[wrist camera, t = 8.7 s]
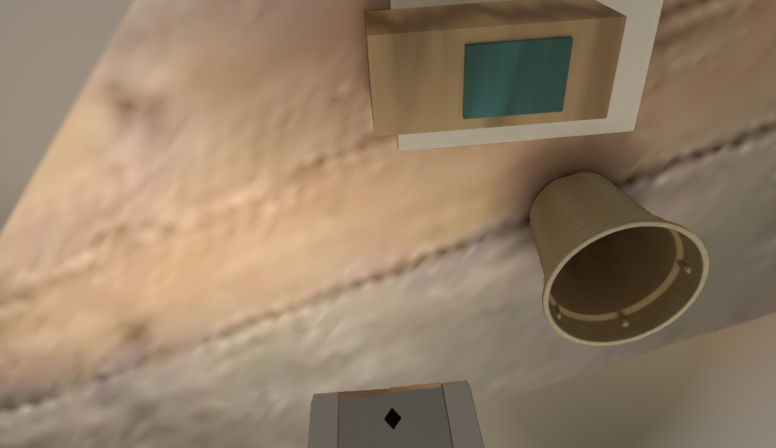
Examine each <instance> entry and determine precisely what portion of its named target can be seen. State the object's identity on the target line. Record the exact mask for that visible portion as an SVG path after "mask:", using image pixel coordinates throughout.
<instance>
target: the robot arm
mask: <svg viewBox="0 0 776 448" xmlns="http://www.w3.org/2000/svg"><path fill="white" fill-rule="evenodd" d="M308 448H484V444H483V440H482V436H481V431H480V427H479V423H478V419H477V414H476V410H475V406H474V401H473V397H472V393H471V388H470V385H469V383H468V382H467V381H466V380H464V381H455V382H445V383H440V382H437V383H428V384H418V385H409V386H399V387H390V388H389V389H374V390H359V391H344V392H330V393H319V394H314V395H313V398H312V401H311V411H310V424H309V437H308Z"/></svg>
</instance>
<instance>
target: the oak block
mask: <svg viewBox="0 0 776 448" xmlns="http://www.w3.org/2000/svg"><path fill="white" fill-rule="evenodd" d="M364 18H365V31H366V44H367V57H368V70H369V83H370V96H371V107H372V116H373V125H374V134H375V137H377V136H390V135H402V134H415V133H428V132H440V131H453V130H466V129H478V128H491V127H503V126H516V125H529V124H541V123H554V122H566V121H579V120H592V119H604V118H607V114H608V109H609V104H610V99H611V94H612V89H613V84H614V79H615V74H616V69H617V64H618V59H619V54H620V49H621V44H622V39H623V34H624V29H625V24H626V19H627V16H625V15H623V14H621V13H619V12H617V11H615V10H613V9H611V8H609V7H608V6H606V5H604V4H602V3H600V2H598V1H596V0H511V1H498V2H484V3H470V4H456V5H443V6H429V7H415V8H402V9H388V10H374V11H364Z"/></svg>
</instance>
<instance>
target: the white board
mask: <svg viewBox="0 0 776 448" xmlns="http://www.w3.org/2000/svg"><path fill="white" fill-rule="evenodd" d="M498 1H511V0H390V9H402V8H415V7H429V6H443V5H456V4H470V3H484V2H498ZM596 1H598V2H600V3H602V4H604V5H606V6H608V7H609V8H611V9H613V10H615V11H617V12H619V13H621V14H623V15H625V16H627V19H626V24H625V29H624V34H623V39H622V44H621V49H620V54H619V59H618V64H617V69H616V74H615V79H614V84H613V89H612V94H611V99H610V104H609V109H608V114H607V118H604V119H592V120H579V121H566V122H554V123H541V124H529V125H516V126H503V127H491V128H478V129H466V130H453V131H440V132H428V133H415V134H402V135H397V136H398V149H399V152H400V151H411V150H423V149H434V148H445V147H457V146H468V145H480V144H491V143H502V142H514V141H525V140H537V139H548V138H559V137H571V136H582V135H594V134H605V133H616V132H628V131H634V128H635V124H636V119H637V115H638V110H639V106H640V102H641V97H642V93H643V88H644V84H645V80H646V75H647V71H648V66H649V62H650V58H651V53H652V49H653V44H654V40H655V36H656V31H657V27H658V22H659V18H660V14H661V9H662V5H663V0H596Z"/></svg>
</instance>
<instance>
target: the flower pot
mask: <svg viewBox="0 0 776 448" xmlns="http://www.w3.org/2000/svg"><path fill="white" fill-rule="evenodd" d="M530 227H531V230H532V232H533V236H534V239H535V243H536V247H537V250H538V254H539V258H540V262H541V265H542V269H543V273H544V288H543V293H542V306H543V311H544V314H545V317H546V319H547V321H548V323H549V324H550V326H551V327H552V328H553V329H554V330H555V331H556V332H557V333H558V334H560V335H561V336H563V337H564V338H566V339H568V340H570V341H573V342H576V343H581V344H585V345H593V346H602V345H617V344H624V343H628V342H631V341H635V340H638V339H641V338H644V337H646V336H648V335H650V334H652V333H655V332H657V331H659V330H660V329H662V328H663V327H665V326H667V325H668V324H670V323H671V322H673V321H674V320H675V319H677V318H678V317H679V316H680V315H681V314H682V313H684V312H685V311H686V309H687V308H689V307H690V305H691V304H692V303H693V302H694V301H695V299H696V298H697V297H698V295H699V294H700V292H701V290H702V288H703V287H704V285H705V282H706V279H707V275H708V272H709V257H708V253H707V249H706V248H705V246H704V244H703V243H702V241H701V240H700V239H699V238H698V237H697V236H696V235H695V234H694V233H693V232H691V231H690V230H689V229H687V228H685V227H683V226H681V225H679V224H676V223H673V222H670V221H666V220H664V219H662V218H660V217H657V216H654V215H652V214H651V213H650V212H649V211H647V210H646V209H645V208H643V207H642V206H641V205H639V204H638V203H637V202H635V201H634V200H633V199H632V198H630V197H629V196H628V195H626V194H625V193H624V192H623V191H621V190H620V189H619V188H618V187H616V186H615V185H614V184H612V183H611V182H610V181H609V180H608V179H606V178H605V177H603V176H601V175H598V174H595V173H590V172H578V173H576V174H574V175H570V176H567V177H563V178H559V179H556V180H554V181H553V182H551V183H550V184H548V185H547V186H546V187H545V188H544V189H543V190H542V191H541V192H540V193H539V194H538V196H537V197H536V199H535V200H534V202H533V204H532V207H531V210H530Z"/></svg>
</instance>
